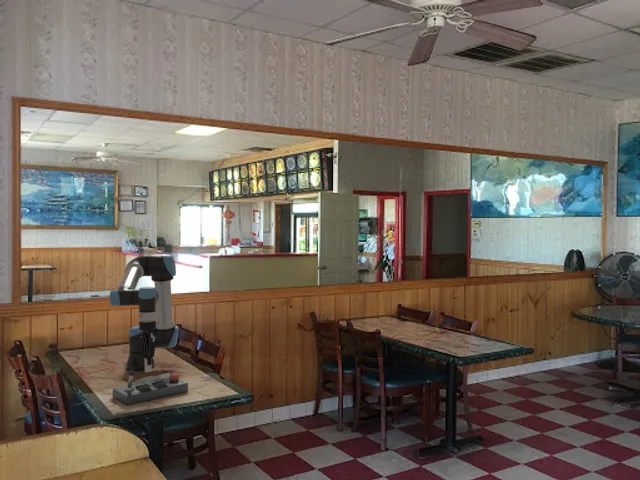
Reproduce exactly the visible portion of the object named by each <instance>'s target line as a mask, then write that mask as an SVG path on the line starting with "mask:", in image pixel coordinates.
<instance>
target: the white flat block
mask: <svg viewBox="0 0 640 480" xmlns="http://www.w3.org/2000/svg"><path fill="white" fill-rule="evenodd" d="M154 377H155V375H150V376H146V377H142V378H140V379H136V380H134V384H136V385H138V384H143V383H147V382H150V381H153V380H155V379H154Z"/></svg>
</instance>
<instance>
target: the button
mask: <svg viewBox="0 0 640 480" xmlns="http://www.w3.org/2000/svg"><path fill="white" fill-rule="evenodd" d="M179 379H180V375H179V373H177V372H176V373H174V372H173V373H170V377H169V380H170V381H171V382H175V381H179Z"/></svg>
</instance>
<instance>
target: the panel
mask: <svg viewBox="0 0 640 480" xmlns="http://www.w3.org/2000/svg"><path fill="white" fill-rule="evenodd" d="M127 386H128V384H127V385H122V386H119V387H113V388H112V398H114V399H116V400H117V401H119V402H121V403H123V404H124V405H126V406H129V405H134V404H138V403H142V402H143V403H144V402H147V401H151V400H155V399H159V398H164V397H168V396H172V395H173V396H174V395H177V394H181V393H185V392H189V383H188V382H187V381H185V380H182V379H180V378H179V381H175V382H171V381H170V380H169V377H168V378H165V379H162V380H157V381H150V382H147V383H143V384H138V385H136V384H135V383H132V387H131V388H130V389H128V388H127Z"/></svg>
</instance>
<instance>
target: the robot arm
mask: <svg viewBox="0 0 640 480" xmlns="http://www.w3.org/2000/svg"><path fill="white" fill-rule="evenodd" d="M176 269H177V267H176V260H175V258H174V256H173V255H171V254H141V255H139V256H137V257H135V258H132V259H131V260H130V261H129V262H128V263H127V264H126V266H125V268H124V275H123V278H122V279H121V281H120V284H119V286H118V288H117V289H112V290H111V291H110V292H109V303H110V305H111V306H115V307H125V306H126V307H127V306H138V314H137V316H138V321H139V322H138V325H135V326H133V327H130V328H129V330H128V345H129V346H128V347H129V348H128V349H129V351H128V357H127V361H126V363H125V364H126V365H125V366H126V367H125V368H126V370H128V371H130V370H134V371H143V370H144V373H150V372H151V373H152V370H153V369H152V368H154V367H155V359H154V357H155V351H156V349H165V348H167V349H169V348H174V347H176V345H177V344H178V335H179V326H177V325H176V322H175V321H174V320H173V304H172V303H173V302H172V280H174V277H175V276H176V274H177V270H176ZM142 277H150V278H151V281H152V282H153V283H154V286H143V287H142V286H141V287H140V288H138V289H136V288H137V285H138V283H139V281H140V279H141V278H142Z"/></svg>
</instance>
